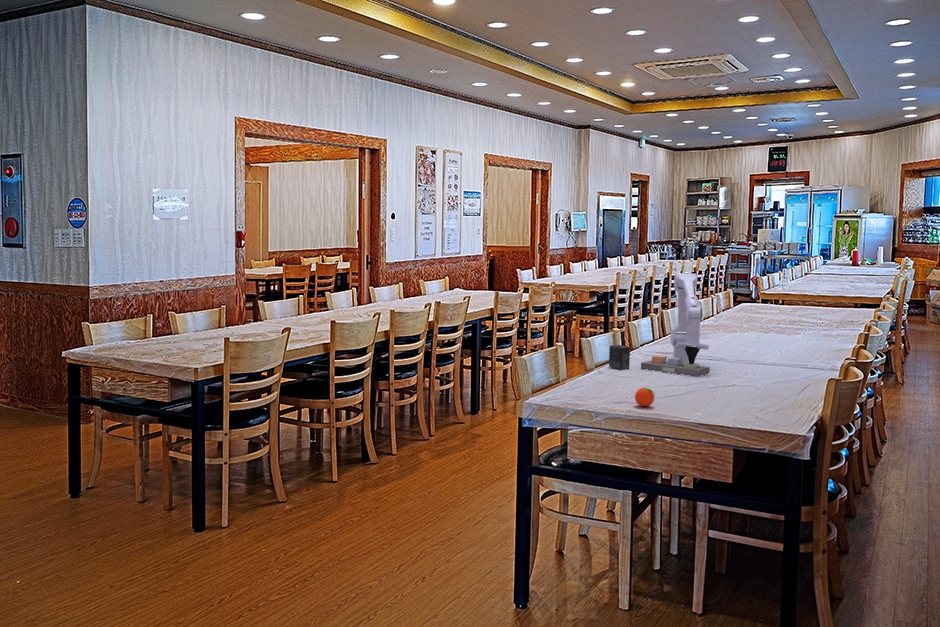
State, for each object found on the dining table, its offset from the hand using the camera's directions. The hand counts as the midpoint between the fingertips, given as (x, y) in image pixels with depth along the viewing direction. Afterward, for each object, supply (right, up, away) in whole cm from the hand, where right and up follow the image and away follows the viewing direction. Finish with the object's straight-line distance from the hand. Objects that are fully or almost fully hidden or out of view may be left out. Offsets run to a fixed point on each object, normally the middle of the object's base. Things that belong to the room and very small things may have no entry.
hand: (691, 363), depth 372 cm
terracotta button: (-12, -1, +11) cm, 16 cm away
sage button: (0, -4, 0) cm, 4 cm away
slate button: (-6, -2, +5) cm, 8 cm away
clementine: (-36, -12, -71) cm, 81 cm away
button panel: (-6, -4, +6) cm, 9 cm away
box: (-31, -3, +11) cm, 33 cm away
